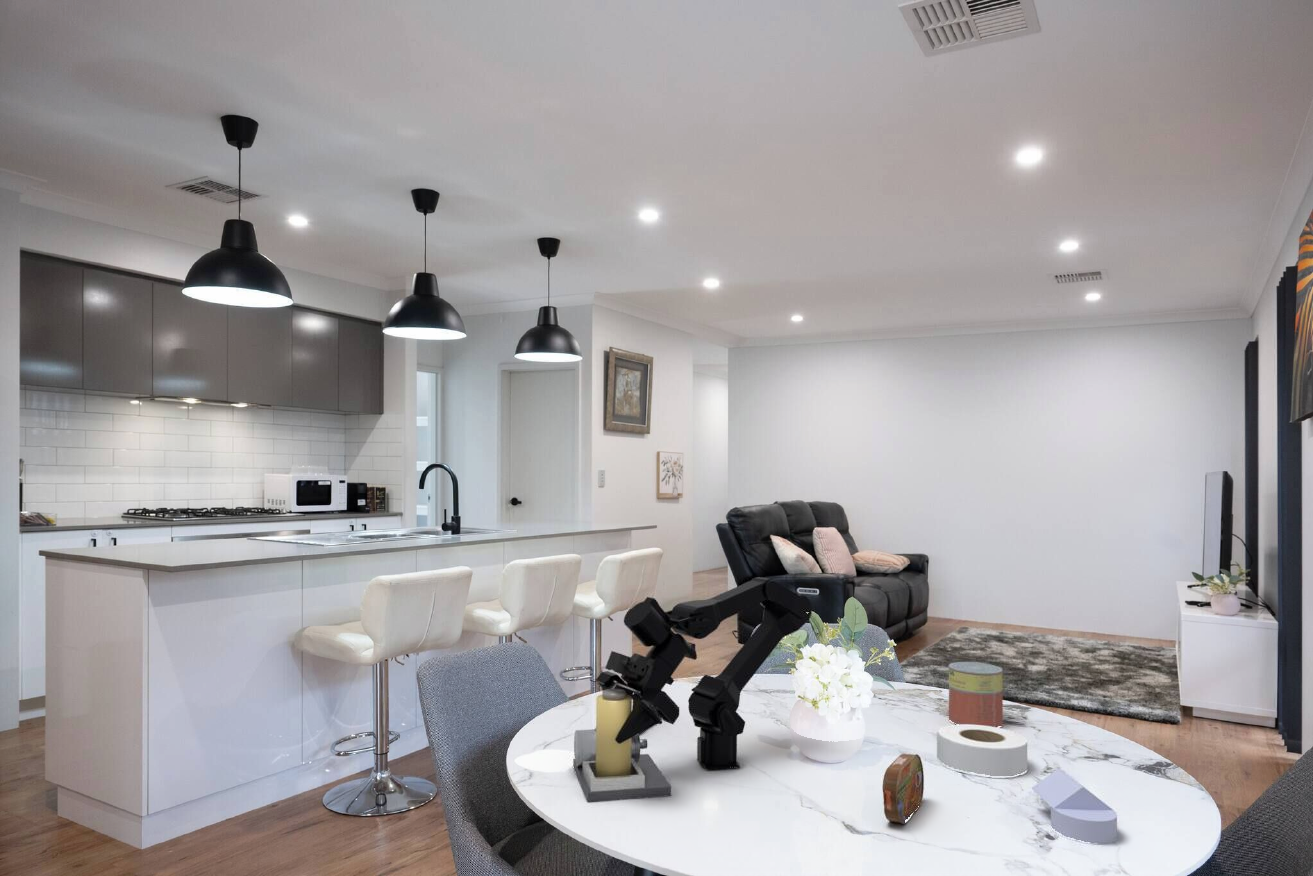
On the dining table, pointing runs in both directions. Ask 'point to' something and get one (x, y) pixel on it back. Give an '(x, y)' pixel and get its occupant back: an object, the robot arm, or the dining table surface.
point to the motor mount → (637, 785)
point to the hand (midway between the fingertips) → (606, 737)
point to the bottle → (612, 733)
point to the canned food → (975, 694)
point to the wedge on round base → (1077, 809)
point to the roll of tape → (982, 749)
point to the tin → (903, 787)
